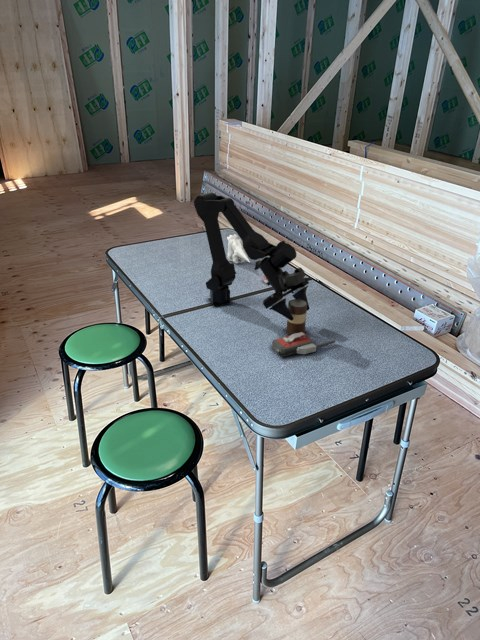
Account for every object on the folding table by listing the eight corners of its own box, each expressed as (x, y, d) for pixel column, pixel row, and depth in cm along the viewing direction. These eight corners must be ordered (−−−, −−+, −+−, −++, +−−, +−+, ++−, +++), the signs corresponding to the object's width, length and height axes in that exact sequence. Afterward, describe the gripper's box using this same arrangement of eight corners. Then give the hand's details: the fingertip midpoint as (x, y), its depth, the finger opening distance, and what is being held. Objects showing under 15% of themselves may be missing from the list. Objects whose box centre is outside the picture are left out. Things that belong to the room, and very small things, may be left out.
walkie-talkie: (282, 362, 145) (336, 346, 153) (283, 349, 143) (338, 334, 151) (267, 348, 152) (320, 334, 160) (268, 336, 150) (321, 322, 158)
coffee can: (300, 338, 157) (302, 308, 152) (283, 333, 160) (285, 304, 155) (307, 330, 162) (310, 301, 157) (290, 325, 165) (293, 297, 160)
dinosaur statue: (234, 252, 225) (234, 229, 220) (257, 271, 206) (258, 246, 201) (220, 254, 222) (220, 231, 217) (242, 273, 203) (243, 248, 198)
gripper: (272, 270, 146) (300, 314, 145) (306, 254, 158) (332, 294, 158) (251, 287, 154) (277, 329, 153) (285, 270, 167) (309, 308, 166)
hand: (300, 314), depth 157 cm, fingers open, 9 cm apart
